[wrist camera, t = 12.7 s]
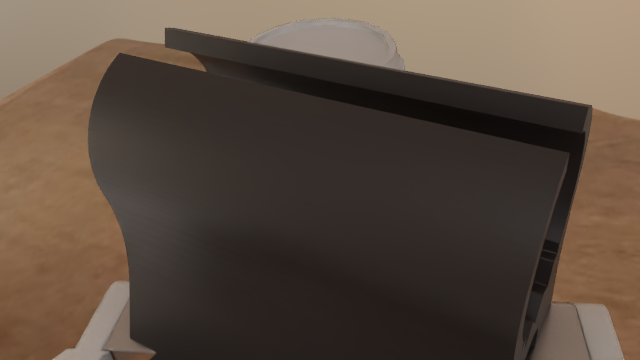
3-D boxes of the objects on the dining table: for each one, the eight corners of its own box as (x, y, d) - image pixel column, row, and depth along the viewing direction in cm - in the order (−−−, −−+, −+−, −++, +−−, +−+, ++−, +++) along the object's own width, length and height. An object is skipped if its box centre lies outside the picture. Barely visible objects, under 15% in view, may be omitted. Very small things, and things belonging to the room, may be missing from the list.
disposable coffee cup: (415, 257, 35) (422, 79, 28) (259, 274, 35) (225, 100, 28) (388, 166, 43) (388, 8, 36) (260, 180, 43) (233, 23, 36)
